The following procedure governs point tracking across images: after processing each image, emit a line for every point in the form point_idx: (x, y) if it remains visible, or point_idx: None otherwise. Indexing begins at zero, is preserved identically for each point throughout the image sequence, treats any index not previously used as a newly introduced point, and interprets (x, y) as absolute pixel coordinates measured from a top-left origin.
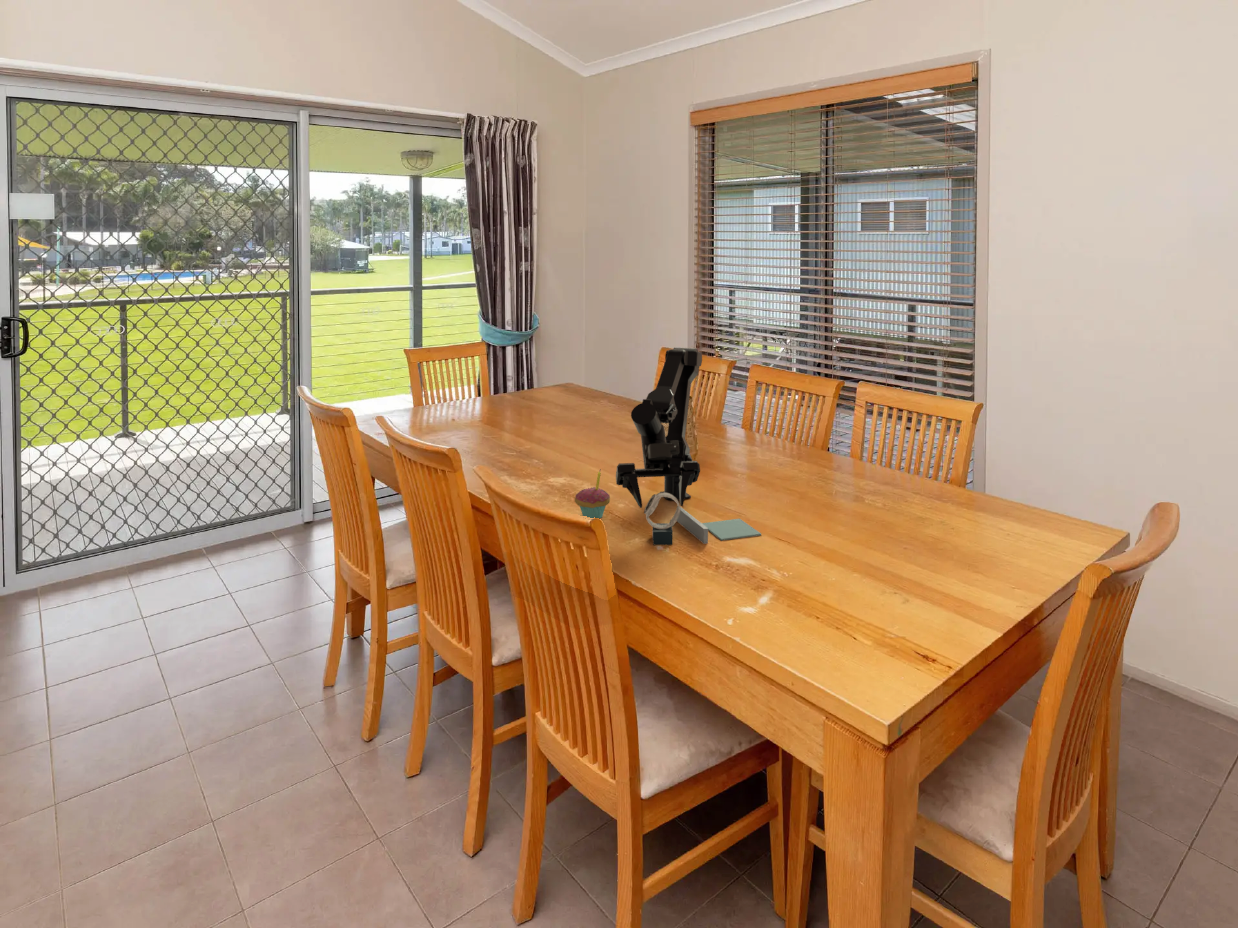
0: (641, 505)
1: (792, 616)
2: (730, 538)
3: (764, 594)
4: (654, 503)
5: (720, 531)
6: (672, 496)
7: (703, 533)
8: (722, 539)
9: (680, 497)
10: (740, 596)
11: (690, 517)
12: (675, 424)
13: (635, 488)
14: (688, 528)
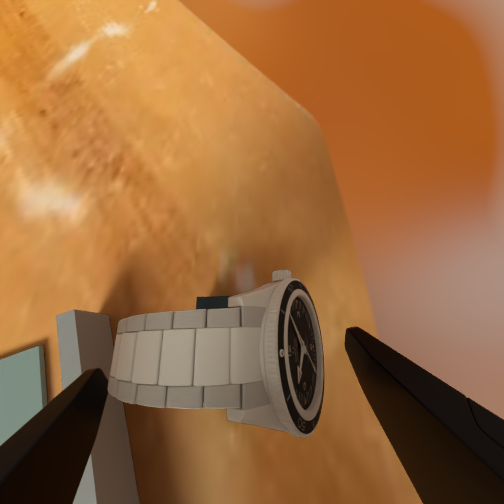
0: (350, 327)
1: (56, 16)
2: (5, 358)
3: (67, 67)
4: (272, 284)
5: (10, 432)
6: (133, 355)
7: (87, 314)
8: (36, 347)
9: (70, 427)
10: (111, 61)
11: (89, 475)
12: None
13: (498, 431)
14: (126, 459)
